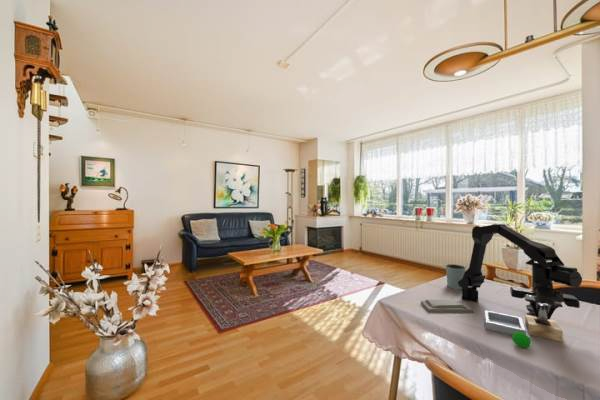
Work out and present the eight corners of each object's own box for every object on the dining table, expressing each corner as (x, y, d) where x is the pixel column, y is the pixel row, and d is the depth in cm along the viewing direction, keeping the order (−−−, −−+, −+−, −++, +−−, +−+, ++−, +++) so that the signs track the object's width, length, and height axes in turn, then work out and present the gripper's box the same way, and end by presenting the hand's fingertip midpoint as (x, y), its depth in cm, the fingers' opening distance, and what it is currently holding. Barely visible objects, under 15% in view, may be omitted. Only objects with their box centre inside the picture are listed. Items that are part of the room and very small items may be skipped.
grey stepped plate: (474, 314, 113) (474, 306, 113) (429, 314, 114) (429, 306, 114) (461, 304, 123) (460, 297, 123) (420, 304, 124) (420, 297, 124)
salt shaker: (547, 319, 106) (547, 291, 105) (531, 318, 107) (531, 291, 107) (537, 313, 111) (537, 286, 111) (522, 312, 112) (522, 286, 112)
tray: (485, 329, 99) (485, 321, 99) (484, 316, 109) (484, 310, 109) (525, 338, 92) (525, 330, 92) (521, 324, 102) (521, 317, 102)
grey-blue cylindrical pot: (450, 289, 141) (449, 268, 141) (442, 283, 151) (442, 263, 151) (469, 290, 139) (469, 269, 139) (460, 283, 149) (460, 264, 149)
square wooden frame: (529, 334, 95) (529, 323, 95) (525, 324, 102) (525, 314, 102) (562, 341, 90) (562, 331, 90) (555, 330, 97) (555, 320, 97)
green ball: (521, 342, 90) (521, 329, 90) (535, 350, 85) (535, 336, 85) (508, 342, 90) (508, 329, 90) (521, 351, 85) (521, 337, 85)
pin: (537, 325, 96) (537, 305, 96) (536, 322, 98) (536, 302, 98) (548, 327, 94) (548, 307, 94) (546, 324, 96) (546, 304, 96)
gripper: (513, 280, 95) (513, 320, 95) (585, 290, 84) (585, 335, 84) (509, 272, 104) (510, 308, 104) (574, 280, 93) (574, 321, 93)
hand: (542, 317), depth 96 cm, fingers closed on pin, 3 cm apart
